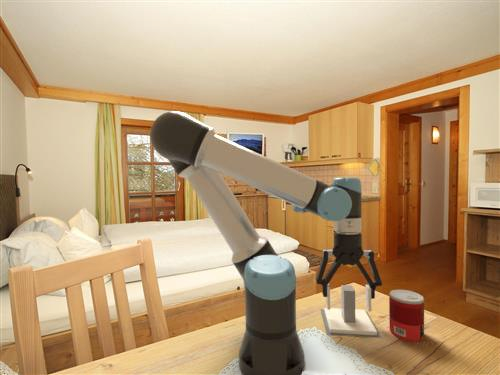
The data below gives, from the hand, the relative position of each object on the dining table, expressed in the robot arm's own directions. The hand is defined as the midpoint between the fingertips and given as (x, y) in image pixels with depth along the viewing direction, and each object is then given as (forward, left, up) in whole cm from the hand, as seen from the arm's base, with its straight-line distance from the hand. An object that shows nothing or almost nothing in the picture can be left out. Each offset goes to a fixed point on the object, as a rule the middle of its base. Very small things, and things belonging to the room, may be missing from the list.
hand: (348, 308), depth 78 cm
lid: (0, 0, -4) cm, 4 cm away
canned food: (+14, -4, -5) cm, 15 cm away
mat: (0, 0, -5) cm, 5 cm away
